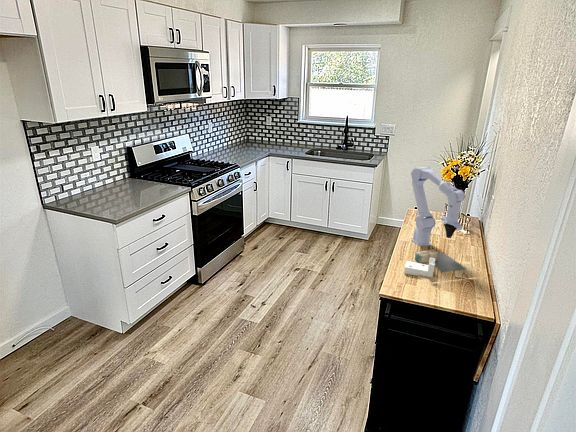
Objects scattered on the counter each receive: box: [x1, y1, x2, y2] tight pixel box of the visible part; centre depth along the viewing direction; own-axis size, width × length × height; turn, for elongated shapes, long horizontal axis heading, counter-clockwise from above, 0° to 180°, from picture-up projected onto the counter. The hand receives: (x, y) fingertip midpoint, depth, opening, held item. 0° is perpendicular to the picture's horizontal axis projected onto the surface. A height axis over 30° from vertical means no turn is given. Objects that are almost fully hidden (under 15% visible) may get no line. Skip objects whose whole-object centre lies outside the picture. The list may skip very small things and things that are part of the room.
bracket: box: [403, 258, 435, 279], centre depth 180 cm, size 13×7×8 cm, turn 67°
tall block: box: [414, 249, 439, 264], centre depth 191 cm, size 4×4×10 cm
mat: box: [434, 252, 467, 273], centre depth 191 cm, size 19×14×1 cm
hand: (448, 237), depth 196 cm, fingers closed
